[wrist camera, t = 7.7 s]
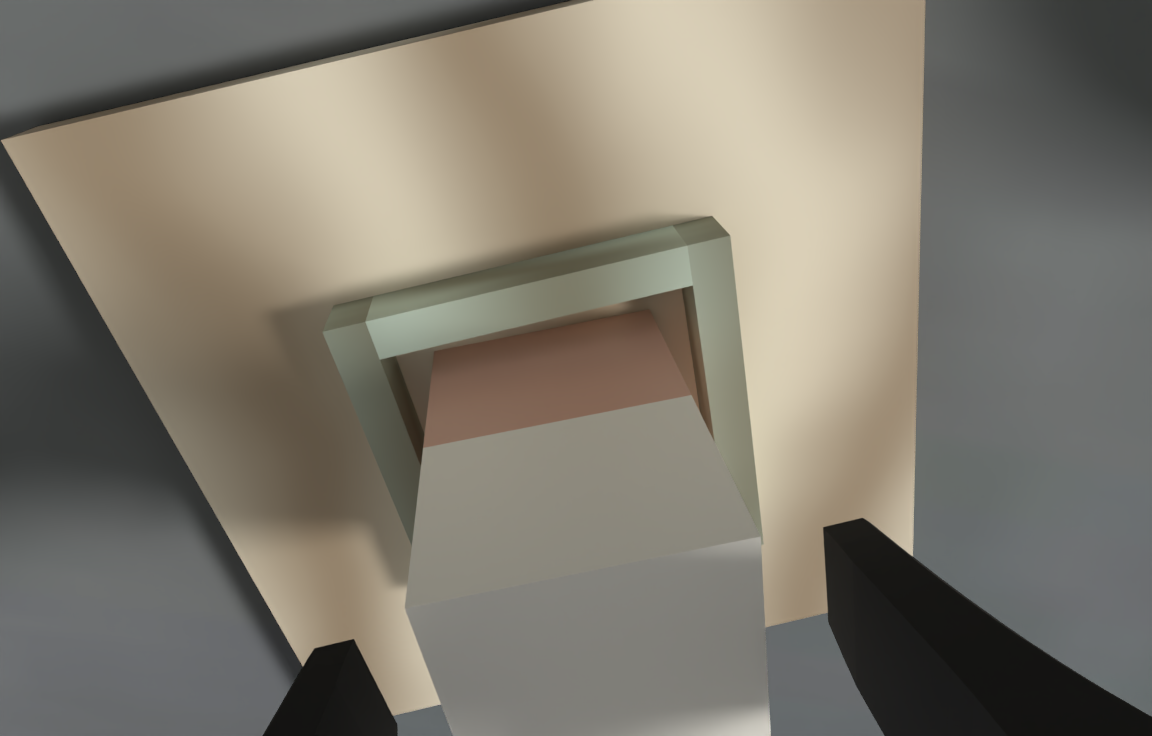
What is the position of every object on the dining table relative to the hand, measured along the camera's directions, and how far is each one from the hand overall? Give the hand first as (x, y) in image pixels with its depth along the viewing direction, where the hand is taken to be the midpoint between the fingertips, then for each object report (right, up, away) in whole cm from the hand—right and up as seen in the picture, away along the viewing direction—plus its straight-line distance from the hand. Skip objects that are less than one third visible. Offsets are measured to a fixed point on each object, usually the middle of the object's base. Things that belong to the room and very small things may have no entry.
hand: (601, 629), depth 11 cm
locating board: (-1, +3, +6) cm, 7 cm away
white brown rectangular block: (-1, +3, +5) cm, 6 cm away
